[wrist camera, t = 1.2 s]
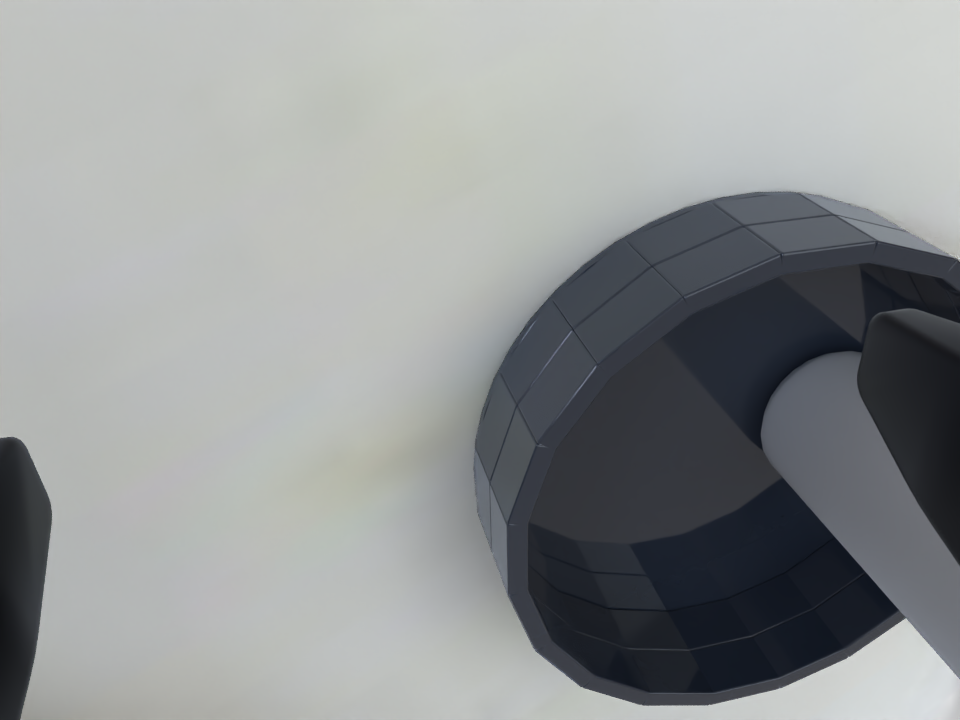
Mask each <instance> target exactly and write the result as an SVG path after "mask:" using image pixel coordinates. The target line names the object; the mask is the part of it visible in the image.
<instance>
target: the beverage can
mask: <svg viewBox="0 0 960 720" xmlns="http://www.w3.org/2000/svg"><path fill="white" fill-rule="evenodd" d="M861 355H862V353H861V352H854V351H845V352H835V353H828V354H824V355H821V356H818V357H816V358H813V359H811V360H808V361H807V362H805V363H804V364H802V365H801V366H799V367H797V368H796V369H794V370H793V371H792V372H791V373H790V374H789V375H788V376H787V377H786V378H785V379H784V380H783V381H782V382H781V383H780V384H779V386H778V387H777V388H776V390H775V391H774V393H773V394H772V395H771V397H770V400H769V402H768V404H767V407H766V409H765V412H764V416H763V422H762V429H761V440H762V447H763V451H764V453H765V455H766V456H767V458H768V460H769V462H770V463H771V465H772V466H773V467H774V468H775V469H776V470H777V471H778V473H779V474H780V475H781V476H782V477H783V478H784V479H785V481H786V482H787V483H788V484H789V485H790V486H791V487H792V489H793V490H794V491H795V492H796V493H797V494H798V495H799V496H800V498H801V499H802V500H803V501H804V502H805V503H806V504H807V506H808V507H809V508H810V509H811V510H812V511H813V512H814V514H815V515H816V516H817V517H818V518H819V519H820V520H821V522H822V523H823V524H824V525H825V526H826V527H827V528H828V530H829V531H830V532H831V533H832V534H833V535H834V536H835V538H836V539H837V540H838V541H839V542H840V543H841V544H842V546H843V547H844V548H845V549H846V550H847V551H848V552H849V553H850V555H851V556H852V557H853V558H854V559H855V560H856V561H857V563H858V564H859V565H860V566H861V567H862V568H863V569H864V571H865V572H866V573H867V574H868V575H869V576H870V577H871V579H872V580H873V581H874V582H875V583H876V584H877V585H878V587H879V588H880V589H881V590H882V591H883V592H884V593H885V595H886V596H887V597H888V598H889V599H890V600H891V601H892V602H893V604H894V605H895V606H896V607H897V608H898V609H899V610H900V612H901V613H902V614H903V615H904V616H905V617H906V618H907V620H908V621H909V622H910V623H911V624H912V625H913V626H914V628H915V629H916V630H917V631H918V632H919V633H920V634H921V636H922V637H923V638H924V639H925V640H926V641H927V642H928V644H929V645H930V646H931V647H932V648H933V649H934V650H935V651H936V653H937V654H938V655H939V656H940V657H941V658H942V659H943V661H944V662H945V663H946V664H947V665H948V666H949V667H950V669H951V670H952V671H953V672H954V673H955V674H956V675H957V677H958V678H959V679H960V566H959V565H958V563H957V562H956V560H955V559H954V557H953V556H952V554H951V553H950V551H949V550H948V548H947V547H946V545H945V544H944V543H943V541H942V540H941V538H940V537H939V535H938V534H937V532H936V531H935V529H934V528H933V526H932V525H931V523H930V522H929V520H928V519H927V517H926V516H925V514H924V512H923V511H922V509H921V508H920V506H919V505H918V503H917V501H916V499H915V498H914V496H913V494H912V492H911V491H910V489H909V487H908V485H907V483H906V482H905V480H904V478H903V476H902V474H901V472H900V470H899V468H898V466H897V465H896V463H895V461H894V459H893V457H892V455H891V453H890V451H889V449H888V448H887V446H886V444H885V442H884V440H883V438H882V436H881V434H880V432H879V431H878V429H877V427H876V425H875V423H874V421H873V419H872V417H871V415H870V414H869V412H868V410H867V408H866V406H865V404H864V402H863V400H862V399H861V396H860V394H859V390H858V386H857V372H858V368H859V364H860V359H861Z"/></svg>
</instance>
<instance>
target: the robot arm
mask: <svg viewBox="0 0 960 720" xmlns="http://www.w3.org/2000/svg"><path fill="white" fill-rule="evenodd" d="M857 386H858V390H859V394H860V396H861V399H862V400H863V402H864V404H865V406H866V408H867V410H868V412H869V414H870V415H871V417H872V419H873V421H874V423H875V425H876V427H877V429H878V431H879V432H880V434H881V436H882V438H883V440H884V442H885V444H886V446H887V448H888V449H889V451H890V453H891V455H892V457H893V459H894V461H895V463H896V465H897V466H898V468H899V470H900V472H901V474H902V476H903V478H904V480H905V482H906V483H907V485H908V487H909V489H910V491H911V492H912V494H913V496H914V498H915V499H916V501H917V503H918V505H919V506H920V508H921V509H922V511H923V512H924V514H925V516H926V517H927V519H928V520H929V522H930V523H931V525H932V526H933V528H934V529H935V531H936V532H937V534H938V535H939V537H940V538H941V540H942V541H943V543H944V544H945V545H946V547H947V548H948V550H949V551H950V553H951V554H952V556H953V557H954V559H955V560H956V562H957V563H958V565H959V566H960V324H959V323H956V322H953V321H950V320H947V319H944V318H941V317H938V316H935V315H932V314H929V313H926V312H923V311H920V310H917V309H901V310H894V311H887V312H881V313H878V314H877V315H875V316H874V317H873V318H872V319H871V321H870V323H869V326H868V329H867V333H866V338H865V342H864V346H863V351H862V355H861V359H860V364H859V368H858V372H857ZM51 524H52V510H51V504H50V500H49V497H48V494H47V492H46V490H45V488H44V485H43V483H42V481H41V479H40V477H39V474H38V472H37V470H36V468H35V465H34V463H33V461H32V459H31V456H30V454H29V452H28V450H27V448H26V446H25V445H24V444H23V442H22V441H21V440H19V439H17V438H15V437H6V438H0V720H20V717H21V713H22V709H23V705H24V701H25V697H26V693H27V689H28V685H29V681H30V677H31V672H32V667H33V663H34V658H35V653H36V646H37V640H38V633H39V624H40V616H41V608H42V599H43V591H44V582H45V574H46V566H47V557H48V549H49V540H50V532H51Z"/></svg>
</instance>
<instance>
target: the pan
mask: <svg viewBox="0 0 960 720" xmlns="http://www.w3.org/2000/svg"><path fill="white" fill-rule="evenodd" d="M901 309H917V310H920V311H923V312H926V313H929V314H932V315H935V316H938V317H941V318H944V319H947V320H950V321H953V322H956V323H959V324H960V261H959V260H958V259H956V258H954V257H953V256H951V255H949V254H947V253H945V252H944V251H942V250H940V249H938V248H937V247H935V246H933V245H931V244H929V243H928V242H926V241H924V240H922V239H920V238H919V237H917V236H915V235H913V234H911V233H910V232H908V231H906V230H904V229H903V228H901V227H899V226H897V225H896V224H894V223H892V222H890V221H888V220H887V219H885V218H883V217H881V216H879V215H878V214H876V213H874V212H872V211H870V210H868V209H865V208H861V207H856V206H852V205H850V204H847V203H844V202H841V201H837V200H834V199H830V198H827V197H824V196H819V195H811V194H803V193H796V192H755V193H749V194H742V195H736V196H729V197H723V198H718V199H715V200H711V201H708V202H704V203H701V204H697V205H694V206H690V207H687V208H684V209H681V210H679V211H677V212H674V213H672V214H670V215H667V216H665V217H663V218H660V219H658V220H655V221H653V222H651V223H649V224H647V225H645V226H643V227H642V228H640V229H638V230H636V231H634V232H633V233H631V234H629V235H627V236H626V237H624V238H622V239H620V240H618V241H617V242H615V243H614V244H612V245H611V246H610V247H608V248H607V249H605V250H604V251H603V252H601V253H600V254H598V255H597V256H596V257H594V258H593V259H591V260H590V261H589V262H587V263H586V264H585V265H583V266H582V267H581V268H580V269H579V270H578V271H577V272H576V273H574V274H573V275H572V276H571V277H570V278H569V279H568V280H567V281H566V282H565V283H563V284H562V285H561V286H560V287H559V288H558V289H557V290H556V291H555V292H554V293H553V294H552V295H551V296H550V297H549V299H548V300H547V301H546V302H545V303H544V304H543V305H542V307H541V308H540V309H539V310H538V311H537V312H536V313H535V314H534V316H533V317H532V318H531V319H530V320H529V322H528V323H527V325H526V326H525V328H524V329H523V331H522V332H521V333H520V335H519V336H518V338H517V339H516V341H515V342H514V343H513V345H512V346H511V348H510V349H509V351H508V353H507V355H506V357H505V359H504V361H503V363H502V365H501V366H500V368H499V370H498V372H497V374H496V376H495V378H494V380H493V383H492V385H491V388H490V391H489V393H488V396H487V399H486V401H485V404H484V407H483V409H482V414H481V418H480V423H479V427H478V432H477V436H476V442H475V456H474V479H475V490H476V497H477V512H478V516H479V518H480V521H481V524H482V526H483V529H484V532H485V535H486V537H487V540H488V543H489V546H490V548H491V551H492V553H493V557H494V559H495V562H496V565H497V568H498V570H499V573H500V576H501V578H502V581H503V584H504V587H505V589H506V592H507V595H508V597H509V599H510V601H511V603H512V605H513V608H514V610H515V612H516V614H517V616H518V618H519V620H520V622H521V624H522V626H523V628H524V630H525V632H526V634H527V636H528V638H529V640H530V642H531V644H532V646H533V648H534V649H535V651H536V652H537V653H538V654H540V655H541V656H542V657H543V658H545V659H546V660H547V661H549V662H550V663H551V664H552V665H554V666H555V667H556V668H557V669H559V670H560V671H561V672H563V673H564V674H565V675H566V676H568V677H569V678H570V679H572V680H573V681H574V682H575V683H577V684H578V685H579V686H580V687H583V688H585V689H589V690H592V691H595V692H599V693H602V694H606V695H609V696H612V697H616V698H619V699H622V700H626V701H629V702H632V703H636V704H639V705H643V706H660V705H709V704H710V705H712V704H716V703H721V702H725V701H729V700H733V699H738V698H742V697H746V696H750V695H755V694H759V693H763V692H768V691H772V690H776V689H779V688H782V687H785V686H787V685H789V684H791V683H793V682H796V681H798V680H800V679H802V678H804V677H807V676H809V675H811V674H813V673H816V672H818V671H820V670H822V669H824V668H827V667H829V666H831V665H833V664H836V663H838V662H840V661H842V660H844V659H847V658H848V657H850V656H851V655H853V654H854V653H856V652H857V651H859V650H860V649H862V648H863V647H864V646H866V645H867V644H869V643H870V642H872V641H873V640H875V639H876V638H878V637H879V636H880V635H882V634H883V633H885V632H886V631H888V630H889V629H891V628H892V627H894V626H895V625H896V624H898V623H899V622H901V621H902V620H904V619H905V618H906V617H905V616H904V615H903V614H902V613H901V612H900V610H899V609H898V608H897V607H896V606H895V605H894V604H893V602H892V601H891V600H890V599H889V598H888V597H887V596H886V595H885V593H884V592H883V591H882V590H881V589H880V588H879V587H878V585H877V584H876V583H875V582H874V581H873V580H872V579H871V577H870V576H869V575H868V574H867V573H866V572H865V571H864V569H863V568H862V567H861V566H860V565H859V564H858V563H857V561H856V560H855V559H854V558H853V557H852V556H851V555H850V553H849V552H848V551H847V550H846V549H845V548H844V547H843V546H842V544H841V543H840V542H839V541H838V540H837V539H836V538H835V536H834V535H833V534H832V533H831V532H830V531H829V530H828V528H827V527H826V526H825V525H824V524H823V523H822V522H821V520H820V519H819V518H818V517H817V516H816V515H815V514H814V512H813V511H812V510H811V509H810V508H809V507H808V506H807V504H806V503H805V502H804V501H803V500H802V499H801V498H800V496H799V495H798V494H797V493H796V492H795V491H794V490H793V489H792V487H791V486H790V485H789V484H788V483H787V482H786V481H785V479H784V478H783V477H782V476H781V475H780V474H779V473H778V471H777V470H776V469H775V468H774V467H773V466H772V465H771V463H770V462H769V460H768V458H767V456H766V455H765V453H764V451H763V447H762V440H761V429H762V422H763V416H764V412H765V409H766V407H767V404H768V402H769V400H770V397H771V395H772V394H773V393H774V391H775V390H776V388H777V387H778V386H779V384H780V383H781V382H782V381H783V380H784V379H785V378H786V377H787V376H788V375H789V374H790V373H791V372H792V371H793V370H794V369H796V368H797V367H799V366H801V365H802V364H804V363H805V362H807V361H808V360H811V359H813V358H816V357H818V356H821V355H824V354H828V353H835V352H845V351H854V352H861V353H862V351H863V346H864V342H865V338H866V333H867V329H868V326H869V323H870V321H871V319H872V318H873V317H874V316H875V315H877V314H878V313H881V312H887V311H894V310H901Z"/></svg>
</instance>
